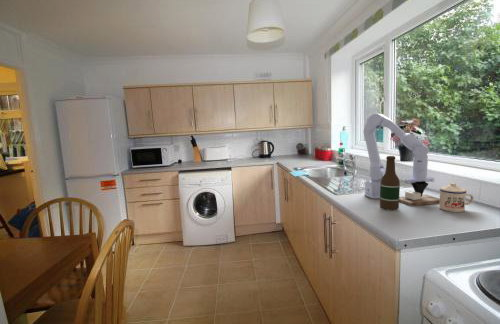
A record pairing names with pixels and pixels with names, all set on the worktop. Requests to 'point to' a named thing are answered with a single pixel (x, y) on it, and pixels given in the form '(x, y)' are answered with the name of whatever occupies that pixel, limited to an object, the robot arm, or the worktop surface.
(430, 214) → the worktop surface
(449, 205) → the teacup with lid
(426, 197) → the console board
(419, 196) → the fader tab
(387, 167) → the beer bottle
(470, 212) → the worktop surface
